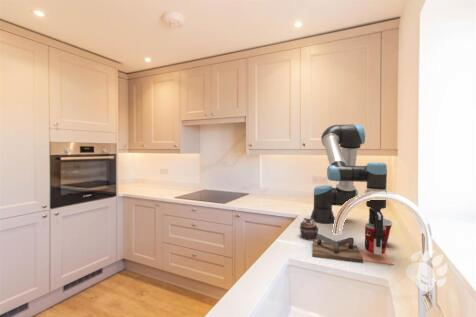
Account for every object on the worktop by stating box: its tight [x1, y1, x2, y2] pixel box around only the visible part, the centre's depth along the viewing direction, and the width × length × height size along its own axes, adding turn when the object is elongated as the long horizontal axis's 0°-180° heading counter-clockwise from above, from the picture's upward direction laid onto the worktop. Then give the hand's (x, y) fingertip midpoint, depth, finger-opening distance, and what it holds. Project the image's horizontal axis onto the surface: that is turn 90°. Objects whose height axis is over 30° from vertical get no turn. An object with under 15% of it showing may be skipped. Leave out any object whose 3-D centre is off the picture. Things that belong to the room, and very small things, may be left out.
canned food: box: [364, 222, 387, 254], centre depth 106 cm, size 8×8×11 cm
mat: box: [359, 249, 394, 266], centre depth 106 cm, size 12×11×1 cm
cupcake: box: [299, 217, 319, 241], centre depth 131 cm, size 10×10×10 cm
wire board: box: [312, 233, 364, 264], centre depth 111 cm, size 16×20×6 cm
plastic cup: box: [367, 217, 394, 246], centre depth 121 cm, size 11×11×12 cm
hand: (375, 250), depth 106 cm, fingers closed on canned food, 8 cm apart
